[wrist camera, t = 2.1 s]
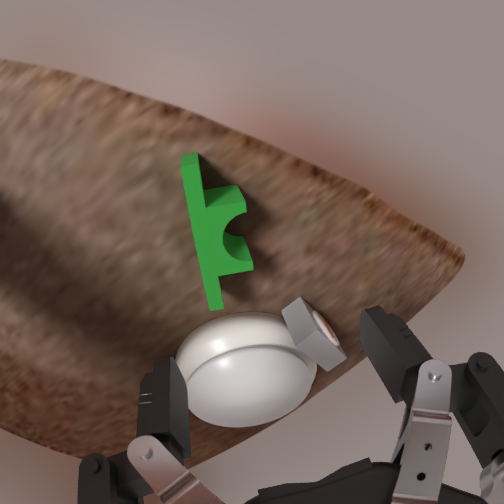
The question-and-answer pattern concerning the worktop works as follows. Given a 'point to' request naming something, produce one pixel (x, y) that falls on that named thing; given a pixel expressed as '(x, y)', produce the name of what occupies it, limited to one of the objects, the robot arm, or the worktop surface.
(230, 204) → the pipe clamp
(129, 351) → the worktop surface
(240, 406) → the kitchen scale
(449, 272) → the worktop surface
